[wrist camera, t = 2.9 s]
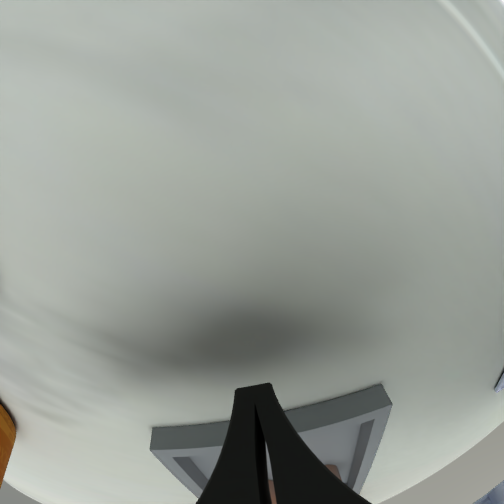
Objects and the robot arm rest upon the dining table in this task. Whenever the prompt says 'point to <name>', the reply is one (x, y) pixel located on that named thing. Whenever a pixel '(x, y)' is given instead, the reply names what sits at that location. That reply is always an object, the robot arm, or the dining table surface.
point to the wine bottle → (5, 440)
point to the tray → (306, 425)
